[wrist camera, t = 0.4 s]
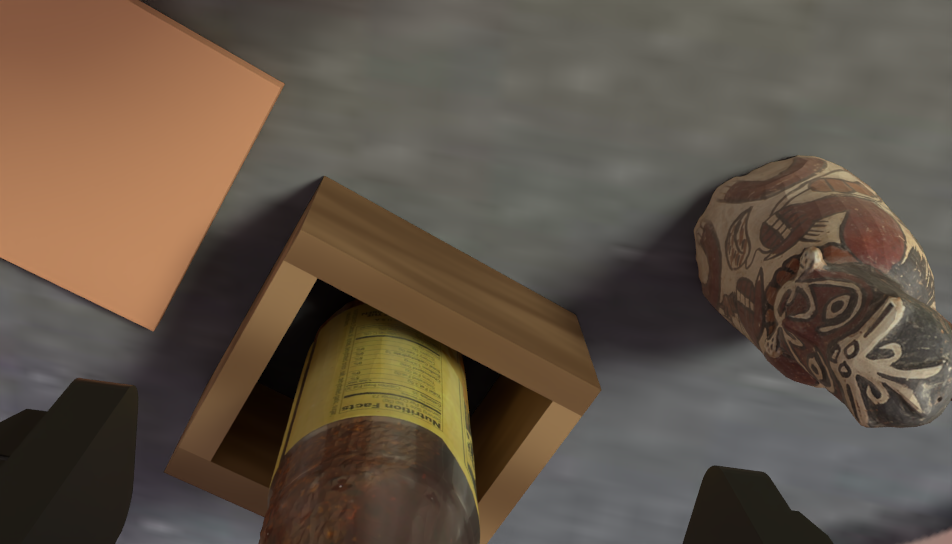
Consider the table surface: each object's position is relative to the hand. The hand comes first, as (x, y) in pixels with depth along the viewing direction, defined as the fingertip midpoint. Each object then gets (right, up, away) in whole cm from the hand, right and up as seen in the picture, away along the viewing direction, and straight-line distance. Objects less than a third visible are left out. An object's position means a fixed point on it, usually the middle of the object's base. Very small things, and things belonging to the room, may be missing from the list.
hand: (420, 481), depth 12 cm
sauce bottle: (-3, 0, +24) cm, 24 cm away
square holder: (-3, 0, +23) cm, 24 cm away
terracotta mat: (-14, +8, +20) cm, 25 cm away
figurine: (+13, +4, +22) cm, 26 cm away
